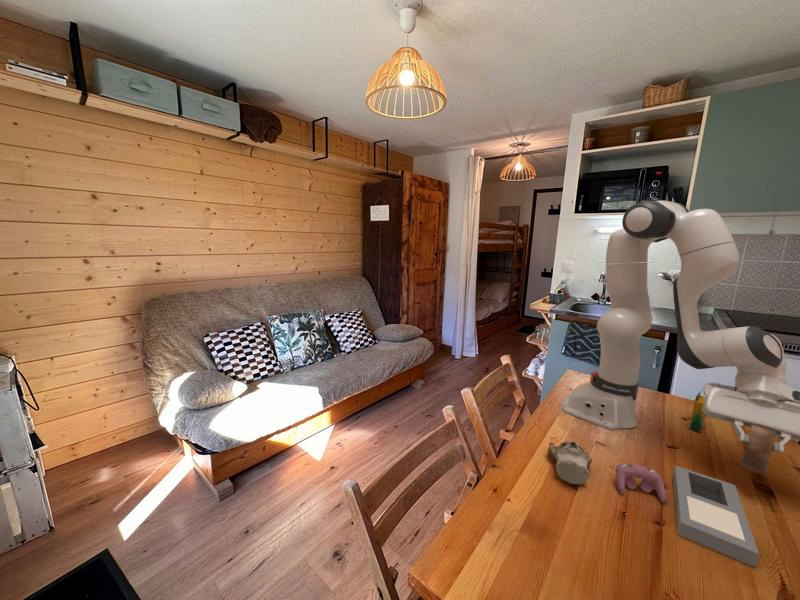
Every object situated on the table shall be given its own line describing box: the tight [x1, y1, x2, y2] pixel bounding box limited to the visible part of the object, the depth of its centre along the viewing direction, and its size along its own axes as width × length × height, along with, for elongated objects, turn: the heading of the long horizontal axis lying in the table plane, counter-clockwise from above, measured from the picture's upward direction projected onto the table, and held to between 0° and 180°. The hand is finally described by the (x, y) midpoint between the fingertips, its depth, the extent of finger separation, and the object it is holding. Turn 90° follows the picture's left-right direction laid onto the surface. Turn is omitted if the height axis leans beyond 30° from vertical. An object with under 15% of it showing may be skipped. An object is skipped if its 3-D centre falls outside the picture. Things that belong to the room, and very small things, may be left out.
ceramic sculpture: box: [547, 440, 593, 485], centre depth 85 cm, size 11×9×15 cm
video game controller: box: [614, 463, 668, 504], centre depth 79 cm, size 10×5×7 cm, turn 71°
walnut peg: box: [740, 425, 778, 475], centre depth 76 cm, size 4×4×10 cm
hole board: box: [672, 465, 760, 568], centre depth 72 cm, size 11×22×3 cm, turn 143°
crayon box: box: [688, 390, 707, 433], centre depth 106 cm, size 7×3×12 cm, turn 129°
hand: (760, 446), depth 76 cm, fingers closed on walnut peg, 4 cm apart
